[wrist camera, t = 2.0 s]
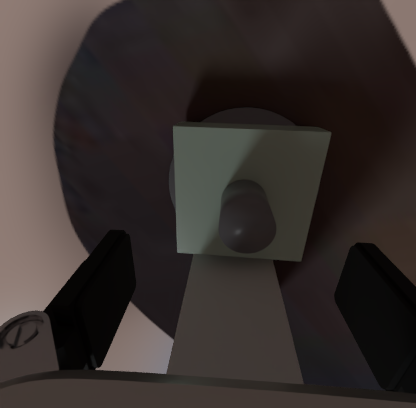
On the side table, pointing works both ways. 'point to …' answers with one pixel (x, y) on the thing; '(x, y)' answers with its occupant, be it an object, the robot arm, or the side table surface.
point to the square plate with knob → (246, 188)
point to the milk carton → (234, 323)
